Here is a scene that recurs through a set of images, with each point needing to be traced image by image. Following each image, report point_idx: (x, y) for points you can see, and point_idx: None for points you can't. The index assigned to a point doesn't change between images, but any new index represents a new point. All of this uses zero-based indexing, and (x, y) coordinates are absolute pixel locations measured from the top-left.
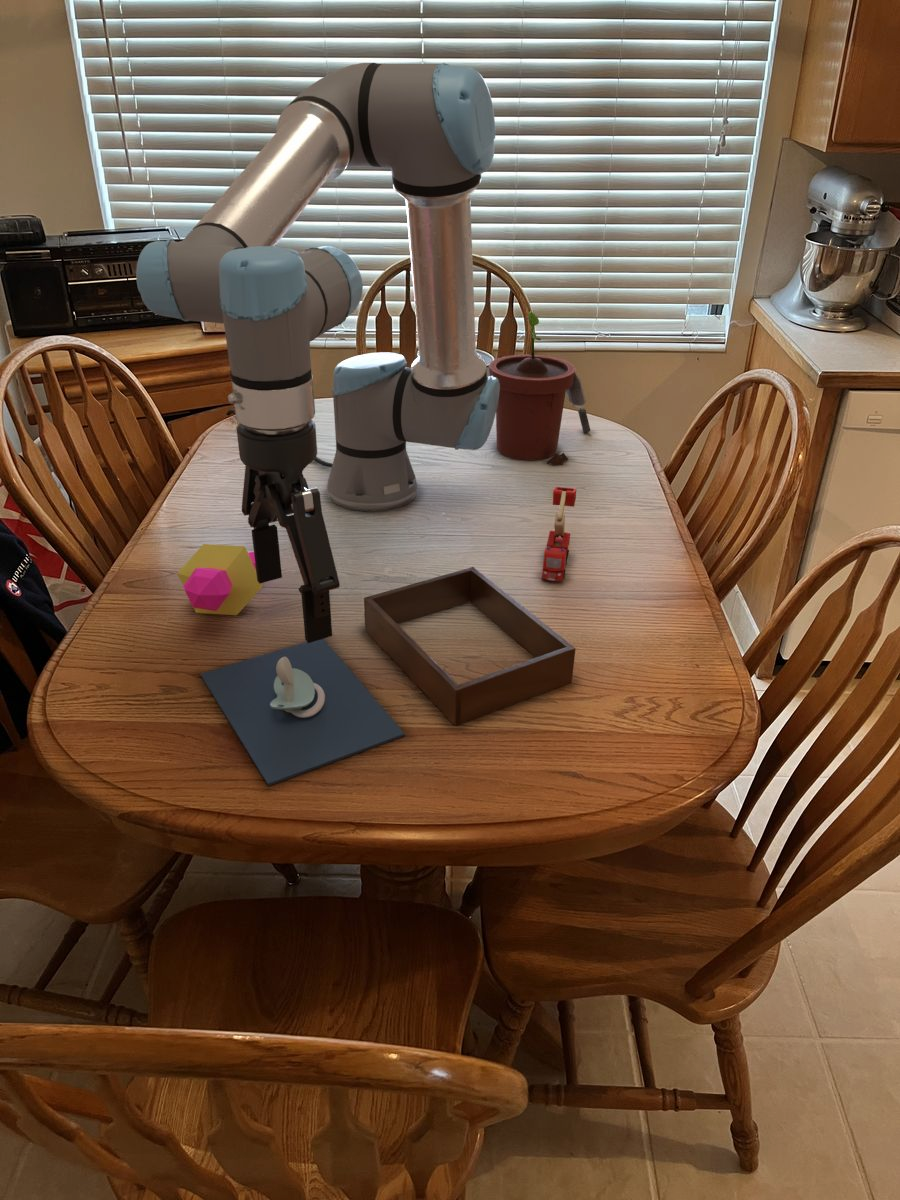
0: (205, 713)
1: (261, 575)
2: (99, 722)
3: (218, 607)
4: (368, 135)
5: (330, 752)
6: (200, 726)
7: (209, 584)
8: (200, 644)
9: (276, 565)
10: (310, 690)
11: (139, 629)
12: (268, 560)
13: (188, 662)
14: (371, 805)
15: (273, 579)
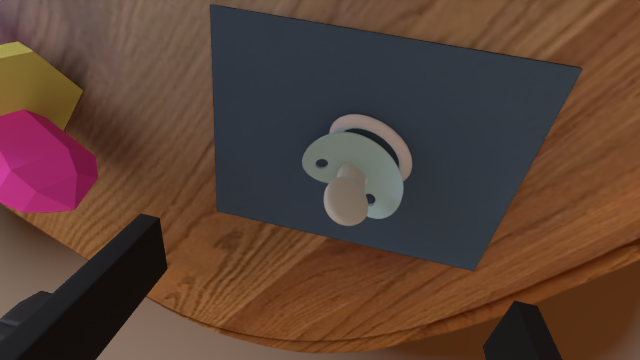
0: (295, 241)
1: (151, 281)
2: (247, 307)
3: (91, 157)
4: None
5: (498, 190)
6: (315, 256)
7: (50, 195)
8: (146, 171)
9: (130, 261)
10: (366, 145)
11: (85, 206)
12: (116, 300)
13: (181, 202)
14: (633, 210)
15: (161, 239)
